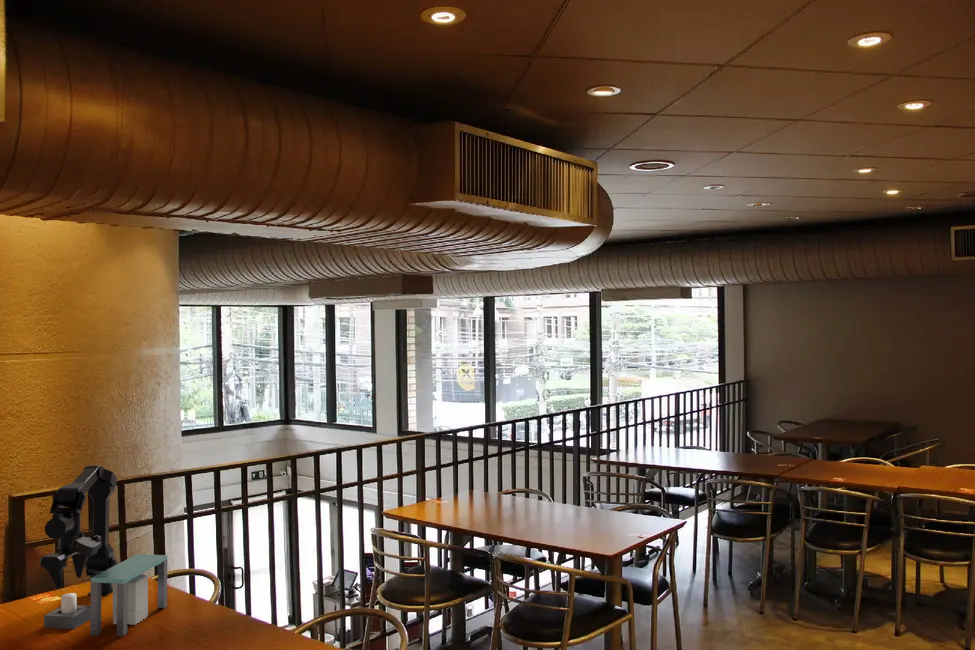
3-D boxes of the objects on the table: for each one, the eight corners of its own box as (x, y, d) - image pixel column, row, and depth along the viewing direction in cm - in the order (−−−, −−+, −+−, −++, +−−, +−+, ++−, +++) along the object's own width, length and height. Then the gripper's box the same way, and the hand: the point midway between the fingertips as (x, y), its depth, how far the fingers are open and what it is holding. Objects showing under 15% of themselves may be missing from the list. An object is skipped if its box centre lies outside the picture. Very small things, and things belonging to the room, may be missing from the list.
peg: (67, 619, 236) (66, 592, 236) (79, 619, 235) (79, 593, 235) (58, 624, 232) (58, 597, 232) (71, 625, 231) (71, 598, 231)
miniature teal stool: (137, 605, 248) (137, 554, 248) (167, 607, 247) (167, 555, 247) (90, 634, 224) (90, 578, 224) (123, 636, 223) (123, 579, 223)
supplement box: (148, 616, 239) (149, 574, 239) (135, 625, 232) (135, 582, 232) (125, 615, 240) (126, 573, 240) (111, 624, 232) (112, 581, 232)
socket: (64, 616, 239) (64, 604, 239) (92, 617, 238) (93, 605, 238) (44, 627, 229) (44, 615, 229) (73, 629, 228) (73, 617, 228)
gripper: (75, 538, 223) (74, 594, 223) (113, 523, 242) (113, 573, 242) (38, 537, 225) (38, 592, 225) (79, 521, 243) (79, 572, 243)
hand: (69, 582), depth 234 cm, fingers open, 9 cm apart
